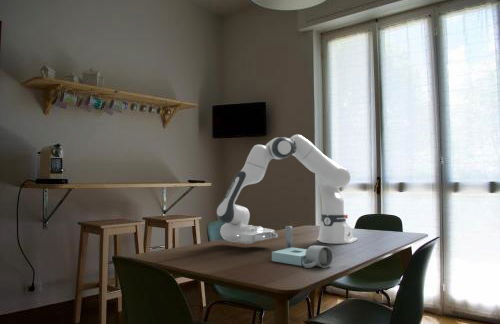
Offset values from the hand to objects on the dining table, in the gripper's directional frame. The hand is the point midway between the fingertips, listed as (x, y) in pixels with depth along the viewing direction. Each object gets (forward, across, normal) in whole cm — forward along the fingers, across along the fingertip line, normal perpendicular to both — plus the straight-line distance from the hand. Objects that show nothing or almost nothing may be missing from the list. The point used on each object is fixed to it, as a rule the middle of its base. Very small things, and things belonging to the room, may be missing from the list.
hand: (270, 237), depth 175 cm
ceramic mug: (+32, -13, +7) cm, 35 cm away
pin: (+10, 0, +6) cm, 12 cm away
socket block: (+20, -9, +6) cm, 23 cm away
